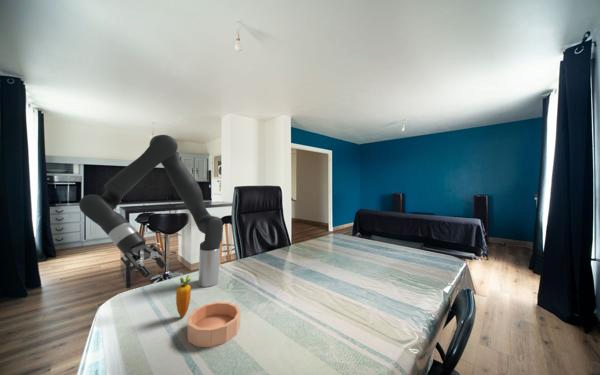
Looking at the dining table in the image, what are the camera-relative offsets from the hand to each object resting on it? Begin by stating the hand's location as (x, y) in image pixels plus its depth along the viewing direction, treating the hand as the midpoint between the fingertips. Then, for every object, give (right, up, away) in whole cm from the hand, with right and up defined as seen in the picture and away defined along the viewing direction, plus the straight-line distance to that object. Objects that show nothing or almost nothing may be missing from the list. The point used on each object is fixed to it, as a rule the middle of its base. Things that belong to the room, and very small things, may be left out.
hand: (157, 271), depth 78 cm
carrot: (+9, -17, 0) cm, 19 cm away
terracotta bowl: (+23, -17, -6) cm, 30 cm away
